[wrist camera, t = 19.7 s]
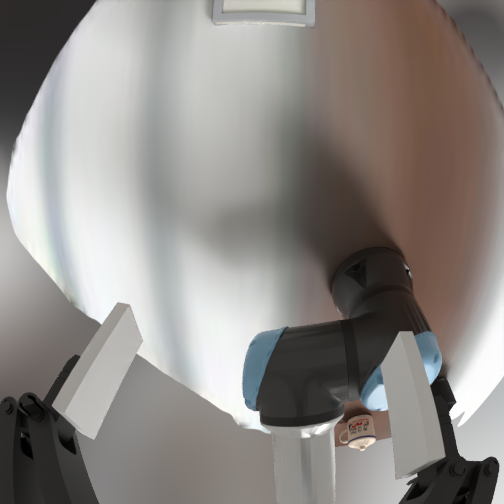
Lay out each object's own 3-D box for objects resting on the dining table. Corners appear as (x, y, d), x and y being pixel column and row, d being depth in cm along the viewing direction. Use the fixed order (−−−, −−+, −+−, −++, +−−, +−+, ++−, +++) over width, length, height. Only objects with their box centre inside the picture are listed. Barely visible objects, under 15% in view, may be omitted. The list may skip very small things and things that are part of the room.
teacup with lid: (369, 411, 68) (373, 442, 57) (375, 420, 71) (379, 448, 61) (334, 421, 72) (335, 452, 62) (342, 429, 75) (344, 458, 65)
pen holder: (451, 379, 59) (460, 404, 50) (427, 395, 63) (434, 420, 54) (441, 371, 57) (450, 399, 48) (415, 389, 61) (423, 416, 52)
